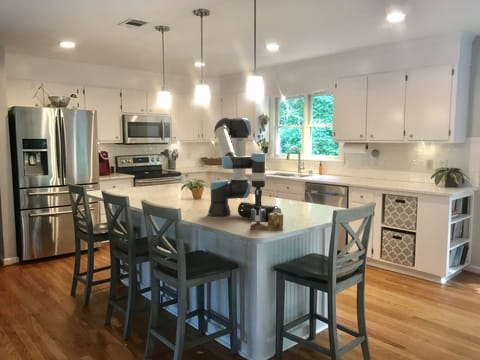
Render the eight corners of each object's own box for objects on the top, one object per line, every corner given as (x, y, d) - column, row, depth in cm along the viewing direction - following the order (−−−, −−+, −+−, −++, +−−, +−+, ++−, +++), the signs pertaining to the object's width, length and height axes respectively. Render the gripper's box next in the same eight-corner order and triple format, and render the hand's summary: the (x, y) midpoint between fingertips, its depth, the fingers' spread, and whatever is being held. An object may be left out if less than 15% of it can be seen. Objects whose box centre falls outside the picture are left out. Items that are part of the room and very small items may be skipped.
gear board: (250, 229, 221) (250, 213, 220) (252, 225, 232) (252, 210, 231) (282, 230, 219) (283, 214, 218) (283, 225, 230) (283, 210, 229)
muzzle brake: (246, 216, 259) (246, 200, 258) (282, 221, 242) (282, 205, 241) (237, 218, 252) (237, 202, 251) (273, 224, 234) (273, 207, 233)
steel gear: (250, 220, 222) (250, 210, 221) (251, 218, 230) (251, 208, 229) (265, 221, 221) (265, 210, 220) (265, 218, 229) (265, 208, 228)
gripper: (263, 181, 212) (263, 223, 215) (266, 178, 233) (265, 215, 235) (249, 181, 213) (249, 222, 215) (253, 178, 234) (253, 215, 236)
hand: (258, 219), depth 225 cm, fingers closed on steel gear, 8 cm apart
